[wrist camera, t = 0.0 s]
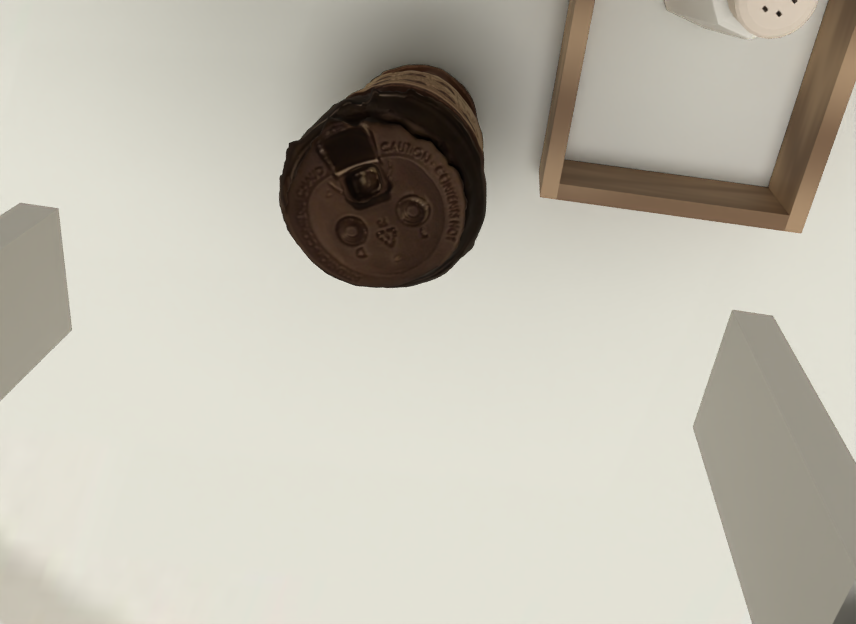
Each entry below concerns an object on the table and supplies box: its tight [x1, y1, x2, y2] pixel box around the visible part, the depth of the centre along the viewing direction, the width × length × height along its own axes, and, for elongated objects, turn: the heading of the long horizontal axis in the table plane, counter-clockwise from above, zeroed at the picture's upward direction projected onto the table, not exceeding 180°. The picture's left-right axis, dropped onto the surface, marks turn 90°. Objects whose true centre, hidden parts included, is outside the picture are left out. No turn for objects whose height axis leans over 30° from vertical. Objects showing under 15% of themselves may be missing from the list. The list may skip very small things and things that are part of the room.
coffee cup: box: [279, 65, 486, 288], centre depth 37 cm, size 9×8×13 cm
